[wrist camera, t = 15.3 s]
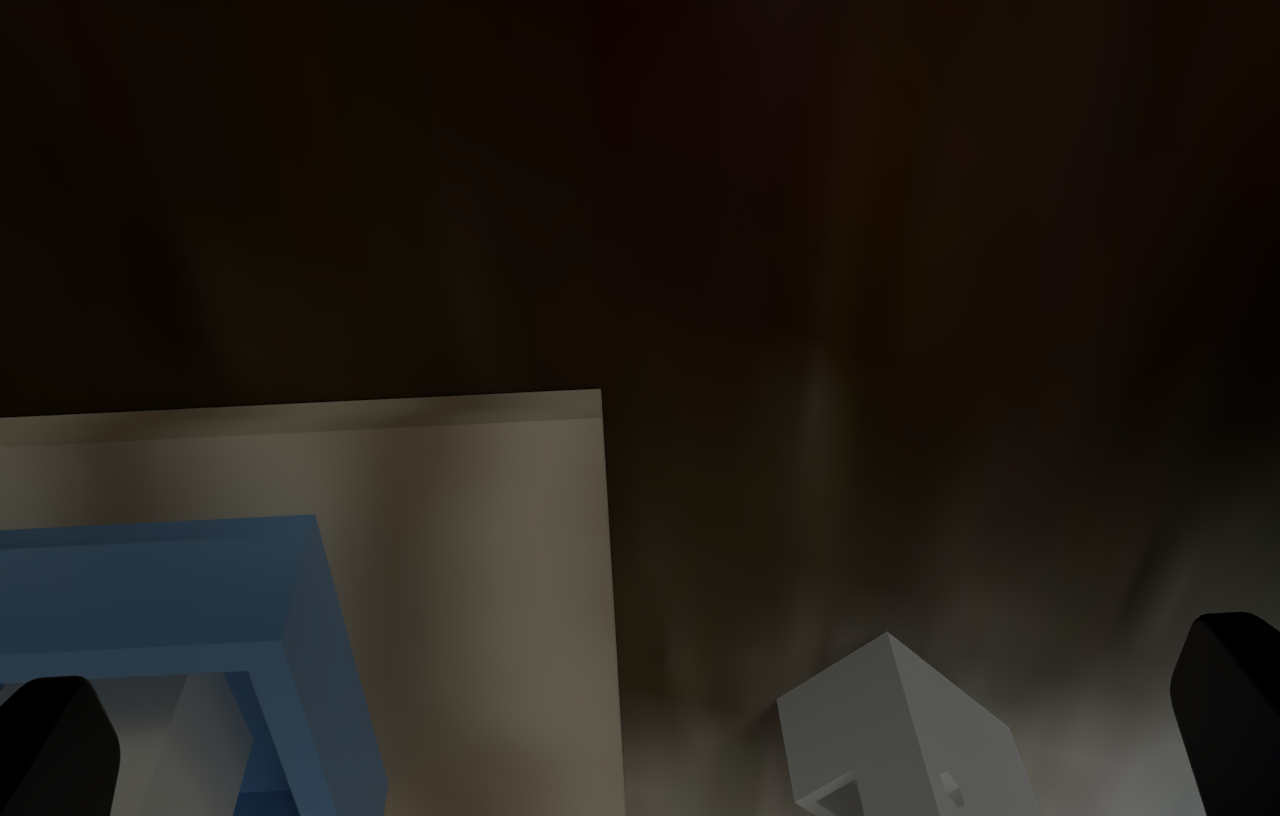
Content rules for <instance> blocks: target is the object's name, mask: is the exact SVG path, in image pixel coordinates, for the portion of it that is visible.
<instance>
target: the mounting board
mask: <svg viewBox="0 0 1280 816" xmlns="http://www.w3.org/2000/svg"><path fill="white" fill-rule="evenodd" d="M310 514H315V516H316V519H317V523H318V527H319V530H320V534H321V538H322V541H323V545H324V549H325V553H326V556H327V560H328V564H329V567H330V571H331V575H332V578H333V582H334V586H335V589H336V593H337V597H338V600H339V604H340V608H341V611H342V615H343V619H344V622H345V626H346V630H347V633H348V637H349V641H350V644H351V648H352V652H353V655H354V659H355V663H356V666H357V670H358V674H359V677H360V681H361V685H362V688H363V692H364V696H365V699H366V703H367V707H368V711H369V714H370V718H371V722H372V725H373V729H374V733H375V736H376V740H377V744H378V747H379V751H380V755H381V758H382V762H383V766H384V769H385V773H386V777H387V780H388V789H387V796H386V802H385V809H384V815H383V816H626V806H625V783H624V766H623V749H622V733H621V716H620V699H619V683H618V666H617V649H616V633H615V616H614V599H613V583H612V566H611V549H610V533H609V516H608V499H607V483H606V466H605V450H604V433H603V416H602V400H601V389H587V390H566V391H546V392H525V393H504V394H484V395H463V396H443V397H422V398H402V399H381V400H360V401H340V402H319V403H299V404H278V405H257V406H237V407H216V408H196V409H175V410H155V411H134V412H113V413H93V414H72V415H52V416H31V417H10V418H0V530H13V529H33V528H53V527H73V526H92V525H112V524H132V523H152V522H172V521H192V520H211V519H231V518H251V517H271V516H291V515H310Z"/></svg>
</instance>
